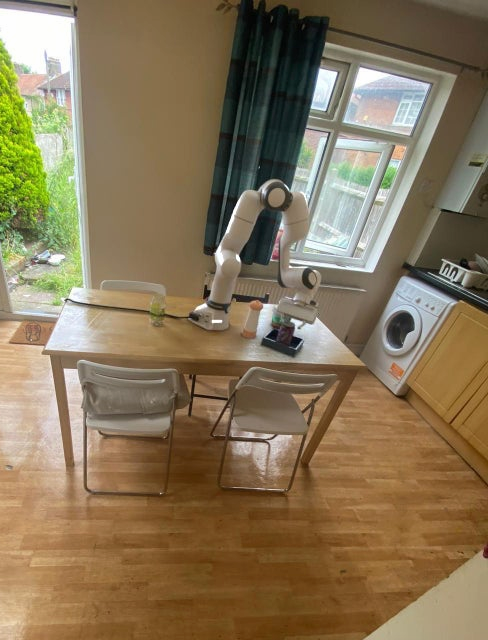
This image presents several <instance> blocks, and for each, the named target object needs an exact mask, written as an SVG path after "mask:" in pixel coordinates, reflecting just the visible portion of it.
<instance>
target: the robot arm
mask: <svg viewBox="0 0 488 640" xmlns="http://www.w3.org/2000/svg"><path fill="white" fill-rule="evenodd" d="M264 209H266V210H268V211H269V212H280V213H281V215H282V223H283V224H282V225H283V230H282V234H281V235H280V236H279V239H278V252H277V253H278V255H277V257H278V258H277V259H278V260H277V261H278V262H277V264H278V265H277V266H278V267H277V274H276V281H277V284H278V285H279V286H280V287H281V288H282V289H290V288H293V289H294V288H297V289H298V290H297V291H296V293H295V295H294V297H293V298H291V297H288V296H283V297H281V298H280V300H279V302H278V304H277V306H276V307H275V308H276V312H277V313H278V314H281V320H280V323H282V324H283V322H284V319H282V317H284V316H287V317H290V318H292V319H293V320H296V321H299V322H302V323H301V324H298V326H297V330H301V329H302V328H303V327H305V326H306V325H307V324H308V325H314V324H315V323H316V320H317V316H318V311H319V303H318V302H317V301H316V300H315V299H314V296H315V295H316V294H317V292H318V290H319V287H320V285H321V282H322V274H321V273H320V272H319V271H318V270H317V269H316V270H315V269H313V268H312V267H311V266H292V265H291V264H290V263H291V262H290V261H291V248H292V246H293V245H294V244H296V243H299V242H300V241H301V240H303V239H305V237H306V236H307V235H308V233H309V231H310V225H311V223H310V212H309V211H310V210H309V205H308V201H307V197H306V194H305V193H304V192H302V191H299V190H295V191H291V190H290V189H289V187H288V186H287V184H285V183H284V182H283V181H282V180H281V179H278V178H270V179H267V180H266V181H265V182H263V183H262V184H261V185H260V186H258V188H257V189H255V190H254V189H245V190H244V191H243V192H242V194H241V195H240V197H239V198H238V200H237V202H236V205H235V206H234V209H233V212H232V213H231V217H230V219H229V222H228V225H227V228H226V230H225V233H224V235H223V236H222V239H221V241H220V243H219V245H218V247H217V249H216V251H215V252H214V253H215V255H214V261H215V264H216V270H215V274H214V277H213V281H212V283H211V289H210V294H209V296H206V298H204V303H202V304H200V305H198V306H196V307H195V309H194V311H191V312H189V313H188V315H187V316H178V315H173V314H169V313H164V312H163V313H164V315H163V316H166V317H170V318H174V319H182V320H183V319H188V321H189V322H191V323H193V324H195V325H197V326H199V327H200V328H202V329H204V330H206V331H226V330H227V329H228V328H229V326H230V325H229V317H230V311H231V308H232V298H233V293H234V288H235V285H236V282H237V279H238V276H239V274H240V273H241V269H242V260H241V258H240V255H241V252H242V250H243V248H244V247H245V245H246V244H247V243H248V241H249V239H250V237H251V235H252V232H253V231H254V227H255V225H256V222H257V220H258V217H259V215H260V213H261V212H262V211H263V210H264ZM67 301H69V302H71V303H73V304H78V305H83V306H91V307H98V308H105V309H114V310H123V311H133V312H142V313H143V312H144V313H148V314H149V313H150V311H151V310H146V309H139V308H131V307H130V308H129V307H120V306H110V305H104V304H103V305H102V304H95V303H93V304H92V303H87V302H81V301H75V300H73V299H71V298H68V297H67V298H65V299H64V300H63V302H67ZM150 314H151V313H150Z"/></svg>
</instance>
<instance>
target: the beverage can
mask: <svg viewBox="0 0 488 640" xmlns="http://www.w3.org/2000/svg"><path fill="white" fill-rule="evenodd" d="M278 330H279V329H278ZM295 331H296V324H295V322H292V321H284V322H283V324H282V325H281V327H280V330H279V333H278V336H277V339H276V342H279V343H282V344H284V345H287V346H289V345H290V342H291V339H292V336H293V335H294V333H295Z"/></svg>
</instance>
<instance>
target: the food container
mask: <svg viewBox="0 0 488 640" xmlns="http://www.w3.org/2000/svg"><path fill="white" fill-rule="evenodd" d="M276 308H277V307H276V306H274V307H273V309H272V317H271V322H270V326H271V327H272V328H275V329H278V330H280V327H281V325H282V323H280V320H281V314H278V313H277V312H276ZM282 319H284V321H290V322H292V321H291V320H292V319H293V318H290V317H287V316H284V317H282Z"/></svg>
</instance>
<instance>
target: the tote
mask: <svg viewBox="0 0 488 640" xmlns="http://www.w3.org/2000/svg"><path fill="white" fill-rule="evenodd" d="M278 333H279V329H276V328H274V327H272V328H271V329H270V330H269V331H268V332H267V333H266V334H264V336H263V337H262V341H261V343H260V345H261V346H263V347H265V348H268V349H270V350H274V351H276V352H279V353H282V354H284V355H287V356H289V357H292V358H295V357H296V356H297V354H298V353H299V351H300V350H301V349H302V347H303V345H304V342H305V340H306V339H305V338H303V337H300V336H297V335H294V334H293V336H292V339H291V342H290V345H289V346H287V345H284V344H282V343H279V342H276V339H277V336H278Z"/></svg>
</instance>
